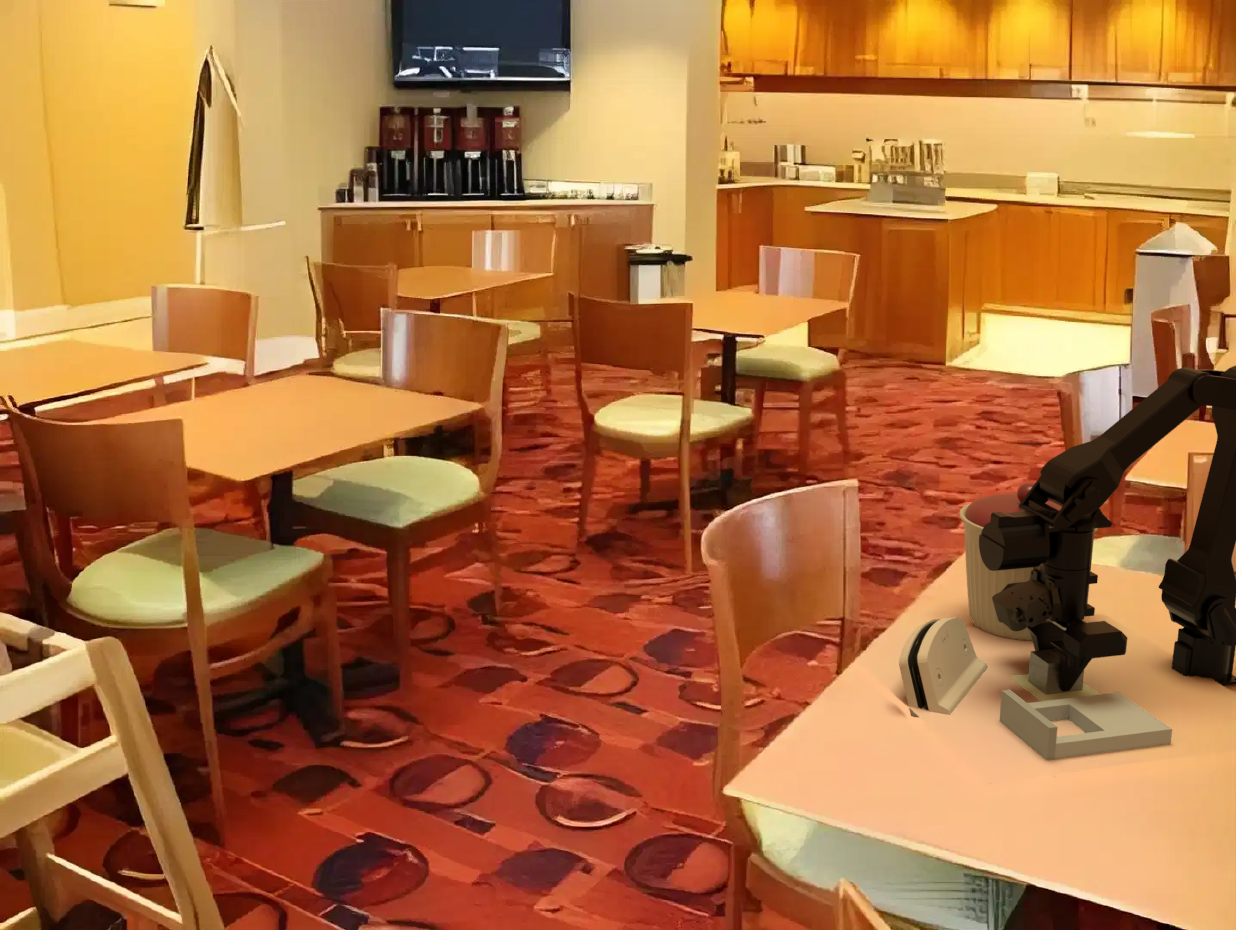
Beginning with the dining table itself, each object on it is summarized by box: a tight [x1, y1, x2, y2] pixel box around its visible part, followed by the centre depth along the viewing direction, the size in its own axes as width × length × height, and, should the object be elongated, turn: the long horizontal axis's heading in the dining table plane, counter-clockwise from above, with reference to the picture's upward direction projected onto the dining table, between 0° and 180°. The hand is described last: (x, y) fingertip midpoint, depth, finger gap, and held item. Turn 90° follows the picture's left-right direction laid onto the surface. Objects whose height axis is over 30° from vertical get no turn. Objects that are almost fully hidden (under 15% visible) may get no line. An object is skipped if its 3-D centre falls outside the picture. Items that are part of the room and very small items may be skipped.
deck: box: [999, 688, 1173, 761], centre depth 153 cm, size 16×10×5 cm, turn 104°
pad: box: [1008, 673, 1101, 702], centre depth 166 cm, size 8×8×1 cm
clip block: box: [1028, 649, 1085, 695], centre depth 165 cm, size 5×4×4 cm
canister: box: [958, 482, 1100, 641], centre depth 184 cm, size 18×18×21 cm
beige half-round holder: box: [898, 617, 989, 718], centre depth 166 cm, size 17×5×10 cm, turn 149°
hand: (1055, 683), depth 166 cm, fingers closed on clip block, 4 cm apart
